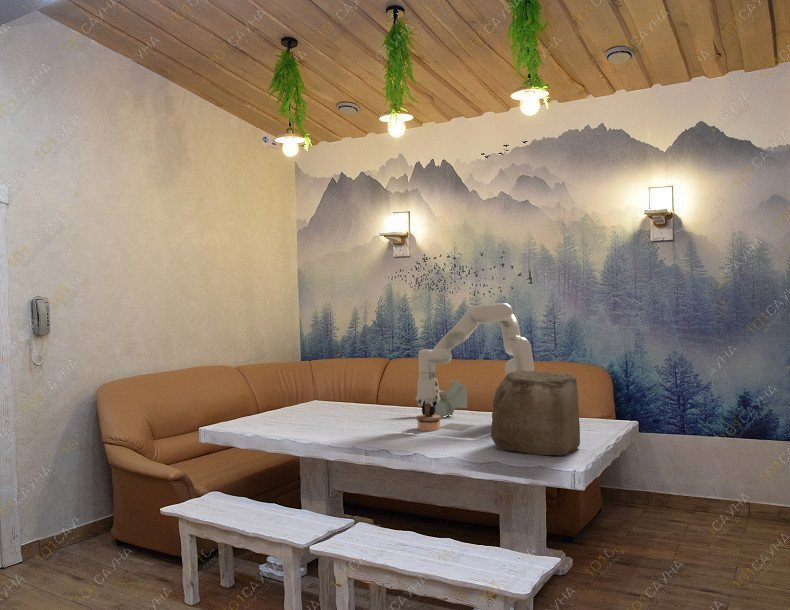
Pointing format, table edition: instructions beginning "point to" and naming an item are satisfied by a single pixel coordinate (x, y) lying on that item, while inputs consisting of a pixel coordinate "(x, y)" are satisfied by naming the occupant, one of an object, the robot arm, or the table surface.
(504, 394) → the stone block
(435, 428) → the bowl
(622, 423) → the table surface
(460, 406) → the bracket
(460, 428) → the trivet
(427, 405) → the lid
